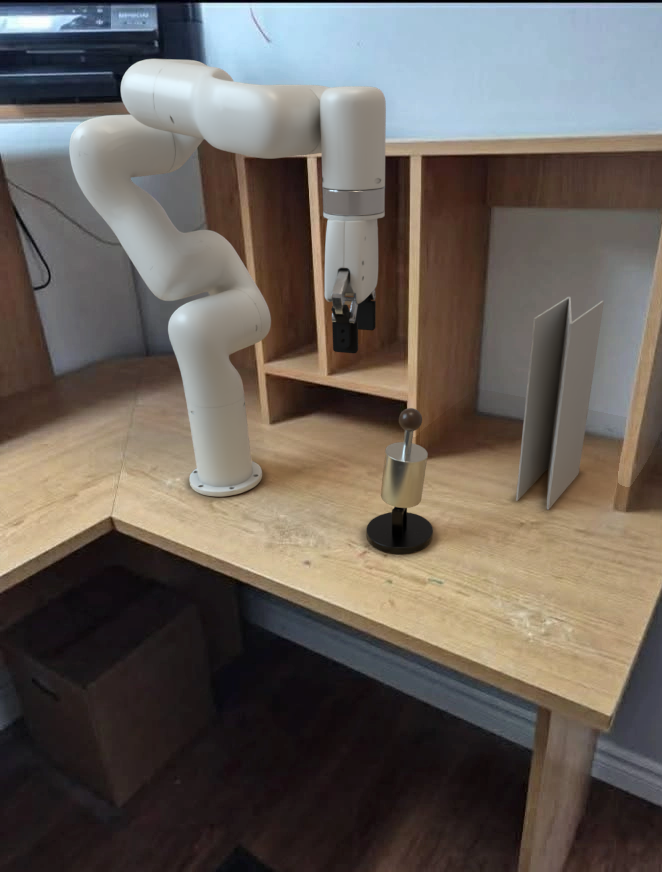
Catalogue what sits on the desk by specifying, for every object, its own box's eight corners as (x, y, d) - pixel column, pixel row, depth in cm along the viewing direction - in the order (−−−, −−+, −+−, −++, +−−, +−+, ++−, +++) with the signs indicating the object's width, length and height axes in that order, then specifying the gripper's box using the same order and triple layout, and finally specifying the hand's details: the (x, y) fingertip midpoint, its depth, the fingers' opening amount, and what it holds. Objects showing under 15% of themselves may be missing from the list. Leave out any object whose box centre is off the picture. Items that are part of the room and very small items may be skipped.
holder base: (437, 521, 107) (438, 491, 105) (426, 558, 99) (427, 526, 96) (375, 514, 110) (374, 485, 107) (359, 549, 101) (358, 518, 99)
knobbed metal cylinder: (436, 404, 96) (394, 397, 97) (429, 421, 91) (385, 414, 92) (422, 506, 104) (383, 499, 105) (415, 527, 99) (374, 519, 100)
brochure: (548, 465, 122) (568, 296, 108) (578, 473, 120) (604, 300, 105) (515, 500, 112) (533, 318, 98) (548, 509, 110) (571, 323, 95)
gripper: (342, 193, 92) (345, 319, 100) (302, 213, 77) (308, 359, 86) (398, 194, 90) (395, 323, 98) (367, 215, 75) (367, 364, 84)
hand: (355, 340), depth 92 cm, fingers open, 9 cm apart
